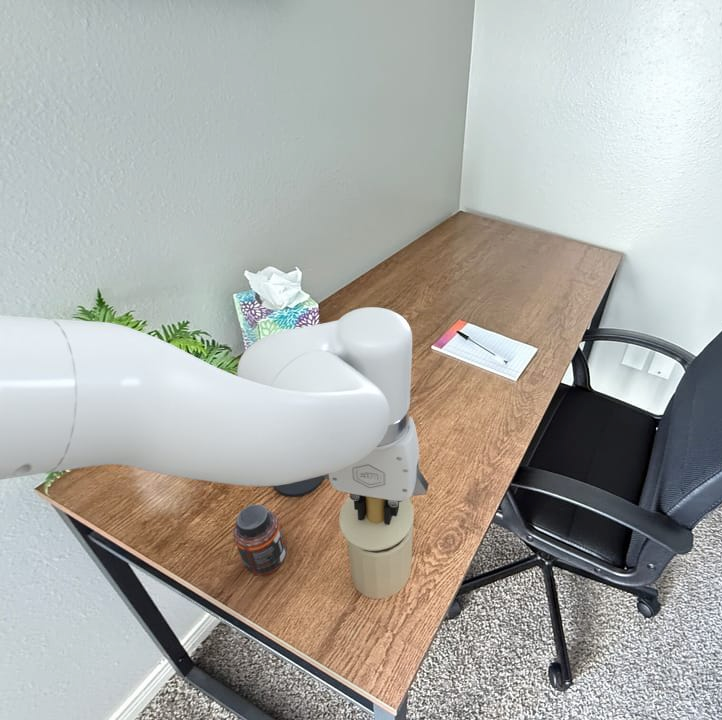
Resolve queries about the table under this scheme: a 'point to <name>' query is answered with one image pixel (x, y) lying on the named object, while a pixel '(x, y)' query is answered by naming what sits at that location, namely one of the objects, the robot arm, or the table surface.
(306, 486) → the mat
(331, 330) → the robot arm
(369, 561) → the tin
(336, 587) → the table surface
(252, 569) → the supplement bottle
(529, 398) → the table surface
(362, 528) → the tin lid
